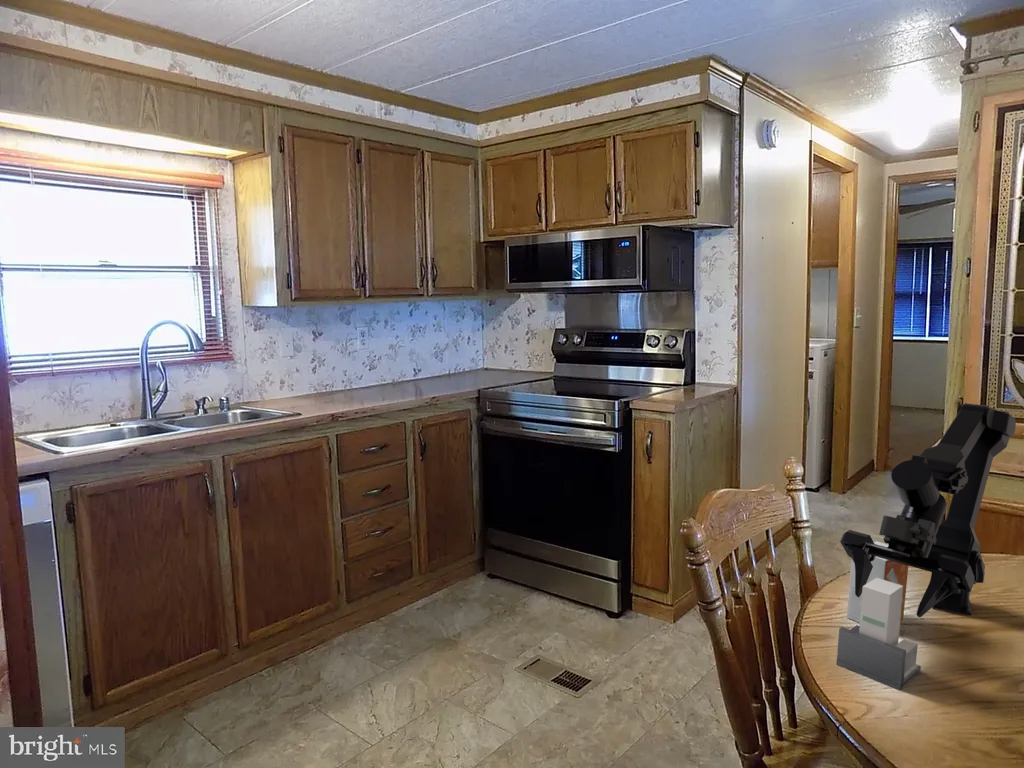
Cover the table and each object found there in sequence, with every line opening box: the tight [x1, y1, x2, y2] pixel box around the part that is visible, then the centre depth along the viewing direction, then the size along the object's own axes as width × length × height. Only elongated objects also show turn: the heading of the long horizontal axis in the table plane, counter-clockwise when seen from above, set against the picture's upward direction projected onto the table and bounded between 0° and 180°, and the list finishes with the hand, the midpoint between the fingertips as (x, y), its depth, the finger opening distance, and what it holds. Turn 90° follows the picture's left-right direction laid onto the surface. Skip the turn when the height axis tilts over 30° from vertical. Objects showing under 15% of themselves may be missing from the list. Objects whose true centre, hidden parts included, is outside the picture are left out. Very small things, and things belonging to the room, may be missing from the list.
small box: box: [846, 540, 909, 624], centre depth 126 cm, size 8×6×13 cm
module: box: [859, 578, 903, 646], centre depth 110 cm, size 5×4×12 cm
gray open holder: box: [836, 624, 922, 691], centre depth 111 cm, size 8×10×6 cm
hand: (886, 605), depth 111 cm, fingers open, 9 cm apart
